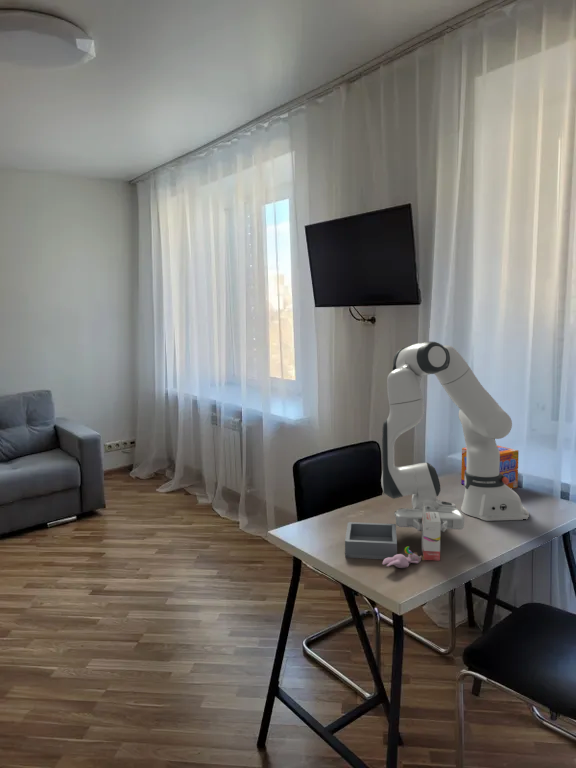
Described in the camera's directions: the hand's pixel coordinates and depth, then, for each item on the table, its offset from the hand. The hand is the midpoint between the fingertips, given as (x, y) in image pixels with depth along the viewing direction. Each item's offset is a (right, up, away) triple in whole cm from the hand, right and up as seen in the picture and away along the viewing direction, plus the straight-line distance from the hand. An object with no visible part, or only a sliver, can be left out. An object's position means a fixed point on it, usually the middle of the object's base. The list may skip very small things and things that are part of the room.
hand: (431, 528), depth 161 cm
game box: (+40, +1, +63) cm, 75 cm away
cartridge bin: (-17, -8, +7) cm, 20 cm away
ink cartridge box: (0, -8, +1) cm, 8 cm away
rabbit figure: (-10, -9, -6) cm, 15 cm away
